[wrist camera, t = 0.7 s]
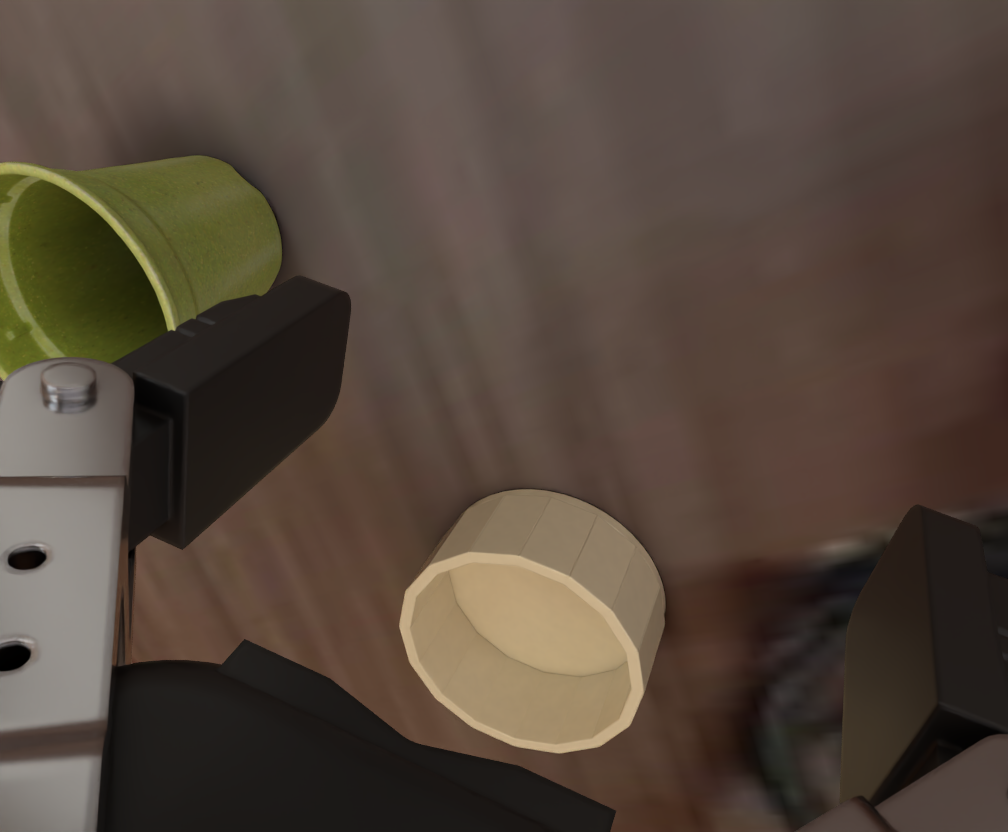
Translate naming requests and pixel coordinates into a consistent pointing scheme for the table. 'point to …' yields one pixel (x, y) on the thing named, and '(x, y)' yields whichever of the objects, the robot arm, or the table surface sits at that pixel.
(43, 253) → the plant pot
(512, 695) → the beige round bowl
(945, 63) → the table surface
